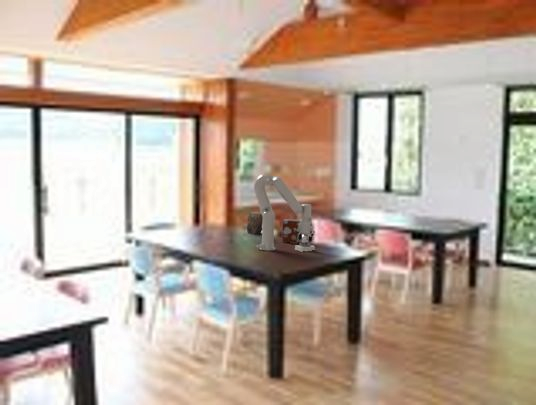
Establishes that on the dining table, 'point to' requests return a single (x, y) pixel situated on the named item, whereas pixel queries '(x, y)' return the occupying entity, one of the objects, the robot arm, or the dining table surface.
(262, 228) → the robot arm
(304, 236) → the lens
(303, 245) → the camera body
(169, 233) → the dining table surface
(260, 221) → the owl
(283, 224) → the brown patterned box
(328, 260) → the dining table surface
